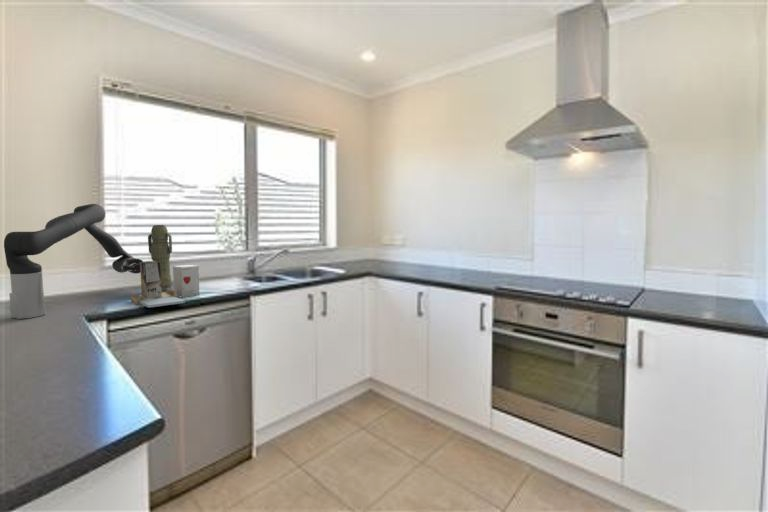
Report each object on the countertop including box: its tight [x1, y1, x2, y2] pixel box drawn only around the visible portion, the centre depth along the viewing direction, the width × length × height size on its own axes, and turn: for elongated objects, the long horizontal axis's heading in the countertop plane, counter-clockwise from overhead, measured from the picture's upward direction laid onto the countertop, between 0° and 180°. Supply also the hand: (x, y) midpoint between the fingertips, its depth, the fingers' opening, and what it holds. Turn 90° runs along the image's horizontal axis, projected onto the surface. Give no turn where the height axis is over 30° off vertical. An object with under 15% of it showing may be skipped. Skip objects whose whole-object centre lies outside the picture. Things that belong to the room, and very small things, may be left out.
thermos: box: [147, 224, 173, 292], centre depth 209 cm, size 9×12×35 cm
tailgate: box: [140, 296, 186, 309], centre depth 172 cm, size 14×1×16 cm
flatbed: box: [130, 288, 178, 306], centre depth 182 cm, size 16×12×4 cm
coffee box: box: [140, 260, 163, 298], centre depth 181 cm, size 9×6×16 cm
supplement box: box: [172, 264, 200, 298], centre depth 197 cm, size 9×9×15 cm
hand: (144, 267), depth 188 cm, fingers open, 8 cm apart
